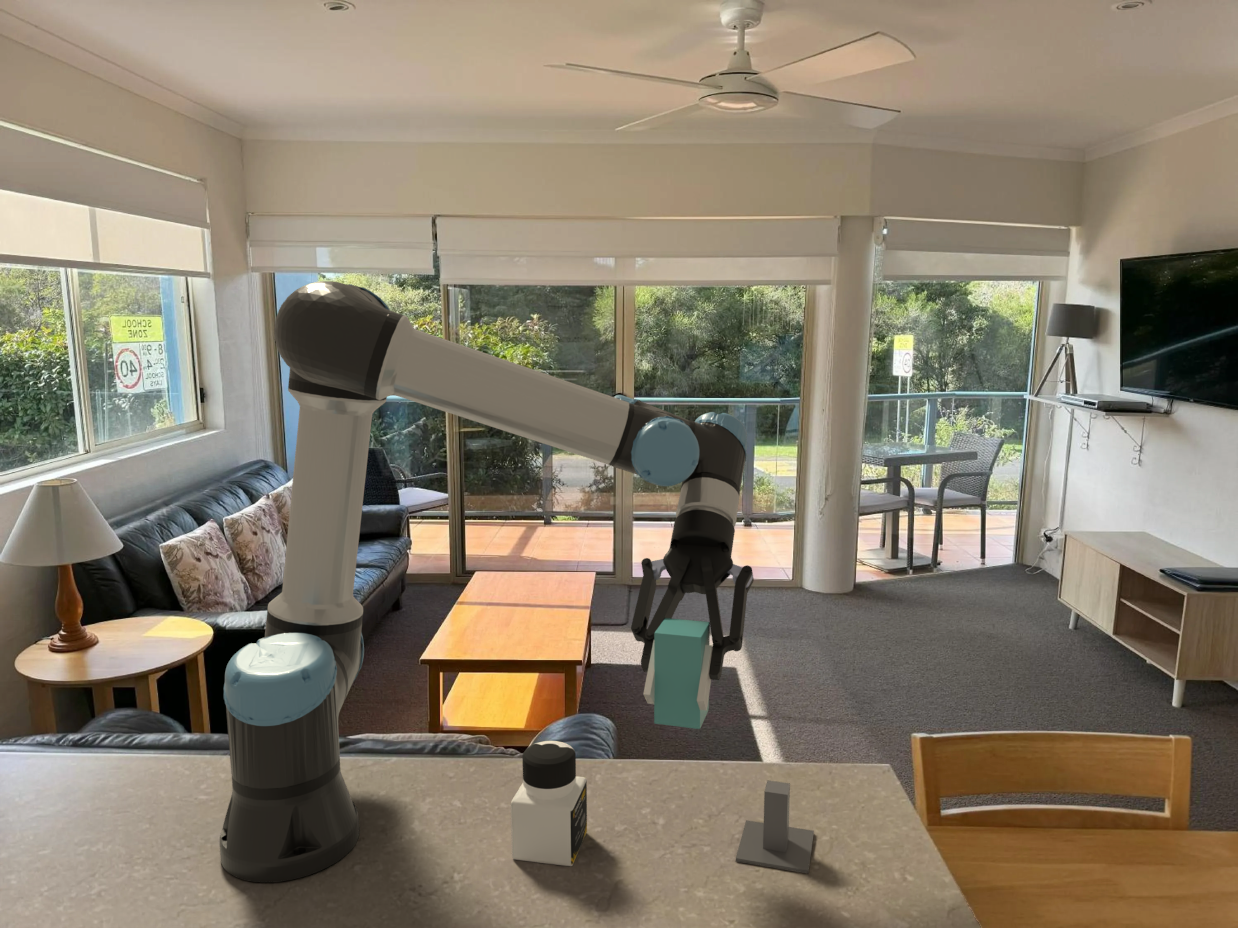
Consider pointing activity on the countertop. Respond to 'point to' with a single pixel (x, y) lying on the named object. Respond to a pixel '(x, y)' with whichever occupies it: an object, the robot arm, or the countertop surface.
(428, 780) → the countertop surface
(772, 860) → the grey square base plate
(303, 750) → the robot arm
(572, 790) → the medicine bottle
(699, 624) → the tall teal pillar
